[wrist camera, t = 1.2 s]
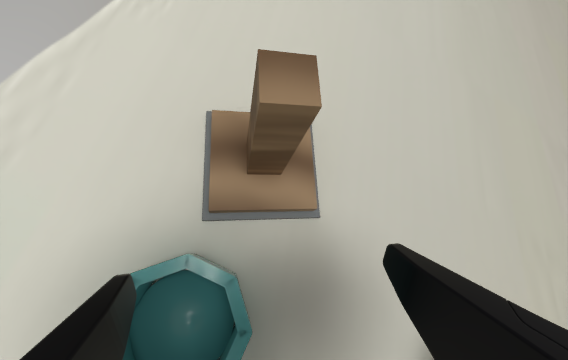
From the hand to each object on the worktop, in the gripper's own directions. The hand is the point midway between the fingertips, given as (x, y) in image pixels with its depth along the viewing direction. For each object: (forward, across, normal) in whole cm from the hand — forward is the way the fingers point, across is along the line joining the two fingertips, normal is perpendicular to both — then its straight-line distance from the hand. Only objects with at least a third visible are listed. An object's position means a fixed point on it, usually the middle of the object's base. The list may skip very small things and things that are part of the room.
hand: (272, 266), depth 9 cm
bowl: (+7, +5, +12) cm, 15 cm away
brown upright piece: (+15, -2, +2) cm, 15 cm away
